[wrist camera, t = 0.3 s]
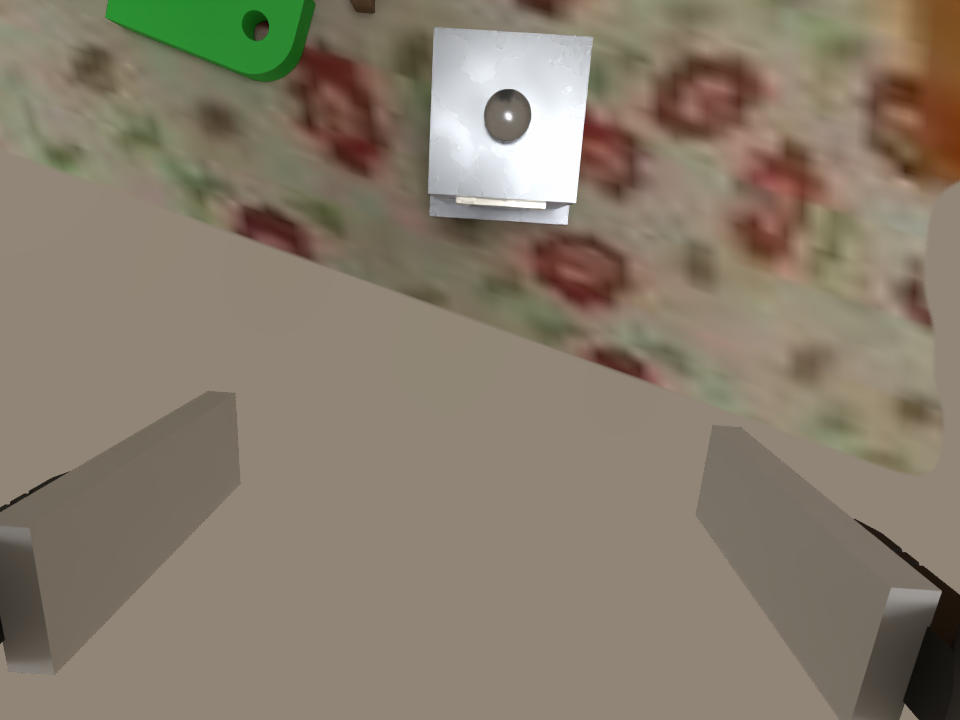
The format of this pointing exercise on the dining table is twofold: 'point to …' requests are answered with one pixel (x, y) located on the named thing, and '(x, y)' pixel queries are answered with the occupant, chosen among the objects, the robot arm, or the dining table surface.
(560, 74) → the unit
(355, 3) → the bay
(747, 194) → the dining table surface
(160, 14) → the mechanical part
